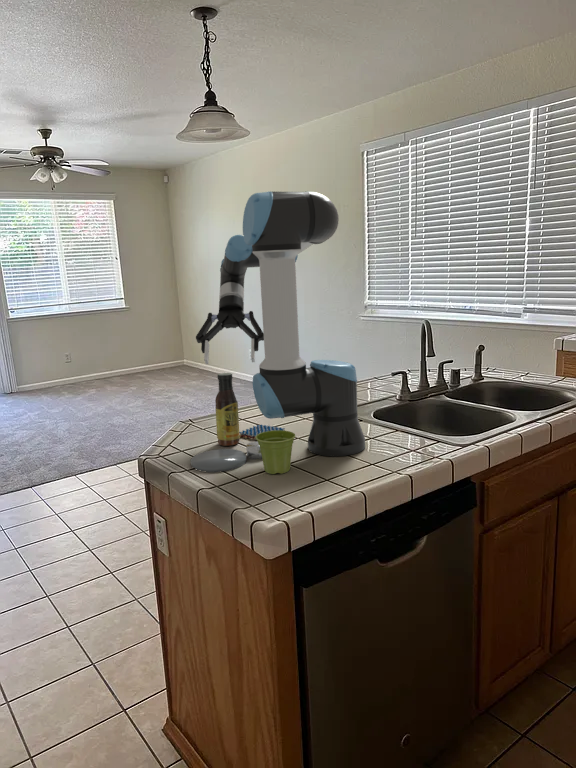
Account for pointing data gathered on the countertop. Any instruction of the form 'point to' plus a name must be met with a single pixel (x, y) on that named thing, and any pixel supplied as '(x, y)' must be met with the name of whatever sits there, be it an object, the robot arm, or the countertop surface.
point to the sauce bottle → (227, 412)
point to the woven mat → (257, 431)
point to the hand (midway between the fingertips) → (229, 361)
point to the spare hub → (253, 450)
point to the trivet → (218, 460)
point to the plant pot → (276, 450)
